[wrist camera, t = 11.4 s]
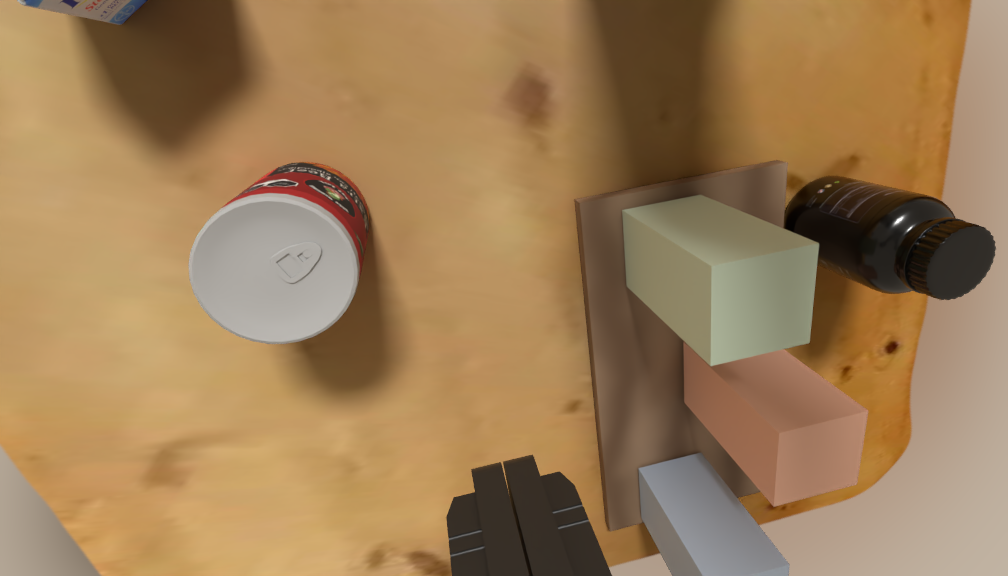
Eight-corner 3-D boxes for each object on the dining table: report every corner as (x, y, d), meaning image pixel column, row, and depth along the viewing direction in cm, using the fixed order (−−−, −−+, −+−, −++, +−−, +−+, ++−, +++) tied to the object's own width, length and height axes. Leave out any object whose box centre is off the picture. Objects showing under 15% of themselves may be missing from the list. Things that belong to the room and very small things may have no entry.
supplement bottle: (864, 228, 44) (1017, 280, 33) (791, 271, 44) (920, 337, 33) (845, 156, 41) (1006, 187, 30) (768, 202, 41) (900, 250, 31)
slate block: (641, 517, 50) (708, 643, 39) (638, 468, 47) (709, 587, 37) (701, 501, 50) (784, 621, 40) (701, 452, 48) (789, 564, 37)
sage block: (626, 286, 40) (710, 366, 29) (622, 210, 38) (711, 266, 27) (700, 270, 41) (809, 342, 30) (700, 194, 39) (819, 243, 28)
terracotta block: (684, 402, 46) (773, 506, 35) (683, 341, 43) (779, 433, 32) (749, 386, 46) (856, 484, 35) (751, 326, 44) (868, 410, 33)
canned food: (393, 208, 37) (390, 260, 27) (323, 293, 38) (295, 373, 28) (295, 132, 34) (251, 158, 24) (224, 227, 35) (153, 290, 25)
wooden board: (605, 521, 51) (610, 531, 50) (574, 199, 39) (579, 203, 38) (758, 481, 53) (766, 490, 52) (777, 160, 40) (787, 162, 39)
